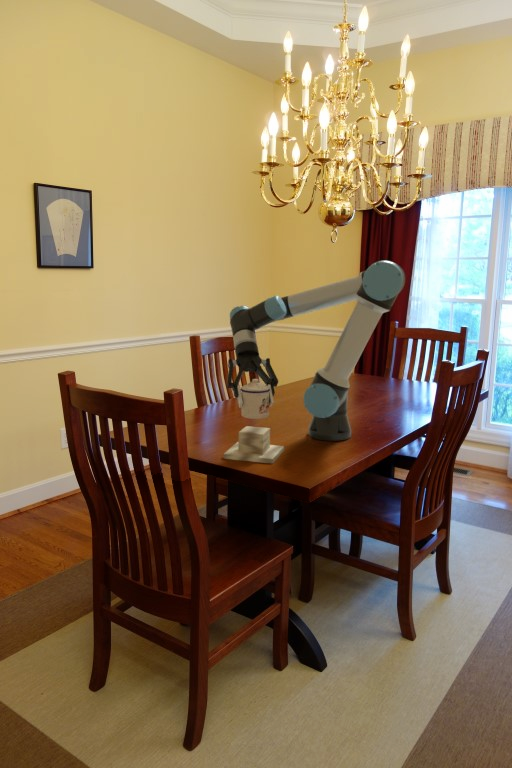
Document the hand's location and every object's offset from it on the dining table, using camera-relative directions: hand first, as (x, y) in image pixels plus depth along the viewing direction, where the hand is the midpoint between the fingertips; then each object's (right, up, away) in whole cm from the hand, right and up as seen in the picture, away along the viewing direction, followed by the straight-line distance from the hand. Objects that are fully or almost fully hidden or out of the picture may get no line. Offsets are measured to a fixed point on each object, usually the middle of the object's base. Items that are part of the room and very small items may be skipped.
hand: (256, 404), depth 180 cm
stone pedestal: (-1, -16, +6) cm, 17 cm away
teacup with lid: (0, -3, +4) cm, 5 cm away
